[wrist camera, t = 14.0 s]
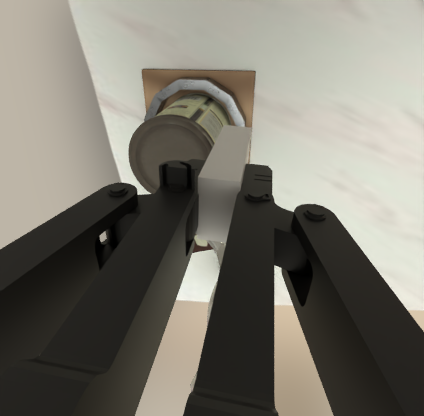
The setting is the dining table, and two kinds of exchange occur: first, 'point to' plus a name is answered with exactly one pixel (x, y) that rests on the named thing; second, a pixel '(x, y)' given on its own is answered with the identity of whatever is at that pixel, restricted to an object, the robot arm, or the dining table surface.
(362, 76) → the dining table surface
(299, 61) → the dining table surface
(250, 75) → the board
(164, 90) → the collar
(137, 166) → the coffee can
